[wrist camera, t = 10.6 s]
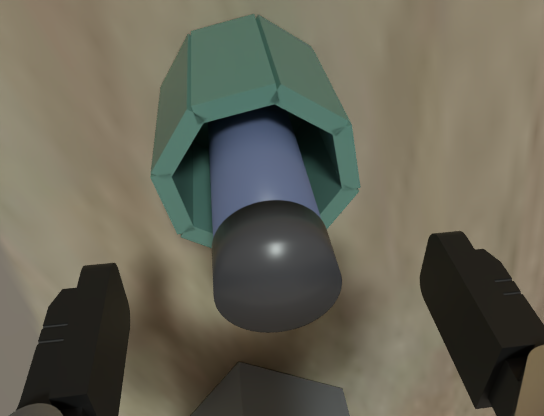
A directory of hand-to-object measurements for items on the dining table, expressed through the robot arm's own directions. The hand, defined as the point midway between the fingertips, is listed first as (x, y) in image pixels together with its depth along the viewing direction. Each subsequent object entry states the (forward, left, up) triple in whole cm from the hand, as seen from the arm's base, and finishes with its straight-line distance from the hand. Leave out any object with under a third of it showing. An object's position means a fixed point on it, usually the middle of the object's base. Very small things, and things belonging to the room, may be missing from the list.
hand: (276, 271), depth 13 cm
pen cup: (0, 0, -10) cm, 10 cm away
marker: (0, 0, -9) cm, 9 cm away
